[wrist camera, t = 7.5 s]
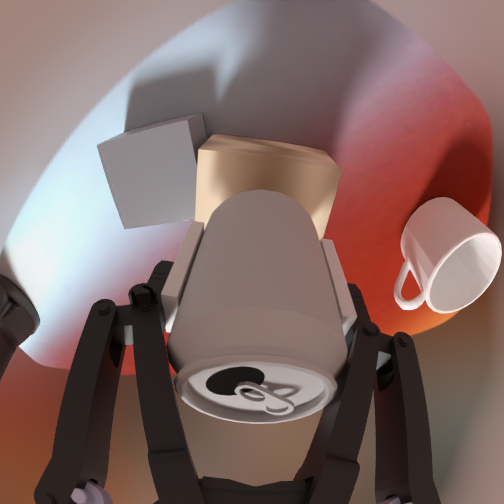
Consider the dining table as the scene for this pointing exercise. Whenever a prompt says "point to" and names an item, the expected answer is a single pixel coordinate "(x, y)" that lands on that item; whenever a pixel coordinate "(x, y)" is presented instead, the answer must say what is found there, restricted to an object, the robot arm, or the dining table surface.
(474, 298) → the mug
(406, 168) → the dining table surface
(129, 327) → the robot arm
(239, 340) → the can
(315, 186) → the birch block
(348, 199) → the dining table surface
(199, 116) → the slate block
